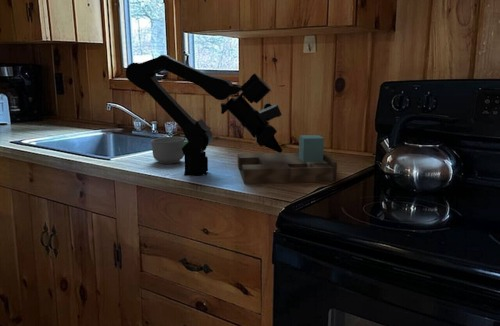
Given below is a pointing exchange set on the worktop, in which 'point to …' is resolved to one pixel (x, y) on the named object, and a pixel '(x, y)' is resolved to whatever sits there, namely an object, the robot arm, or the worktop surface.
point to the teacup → (168, 149)
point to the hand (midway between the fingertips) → (281, 151)
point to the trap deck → (285, 168)
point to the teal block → (311, 148)
